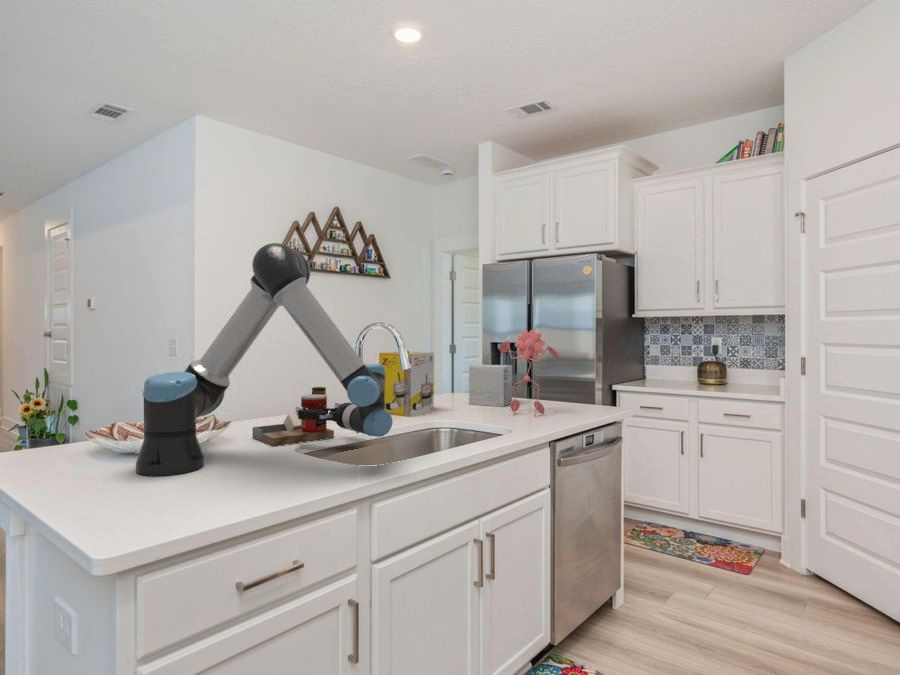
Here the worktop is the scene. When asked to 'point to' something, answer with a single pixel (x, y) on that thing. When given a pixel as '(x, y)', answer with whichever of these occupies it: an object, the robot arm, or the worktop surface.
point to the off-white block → (292, 422)
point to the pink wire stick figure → (528, 347)
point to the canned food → (313, 404)
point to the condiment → (319, 391)
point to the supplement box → (490, 385)
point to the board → (294, 436)
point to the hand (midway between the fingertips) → (316, 408)
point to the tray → (267, 430)
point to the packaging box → (409, 384)
